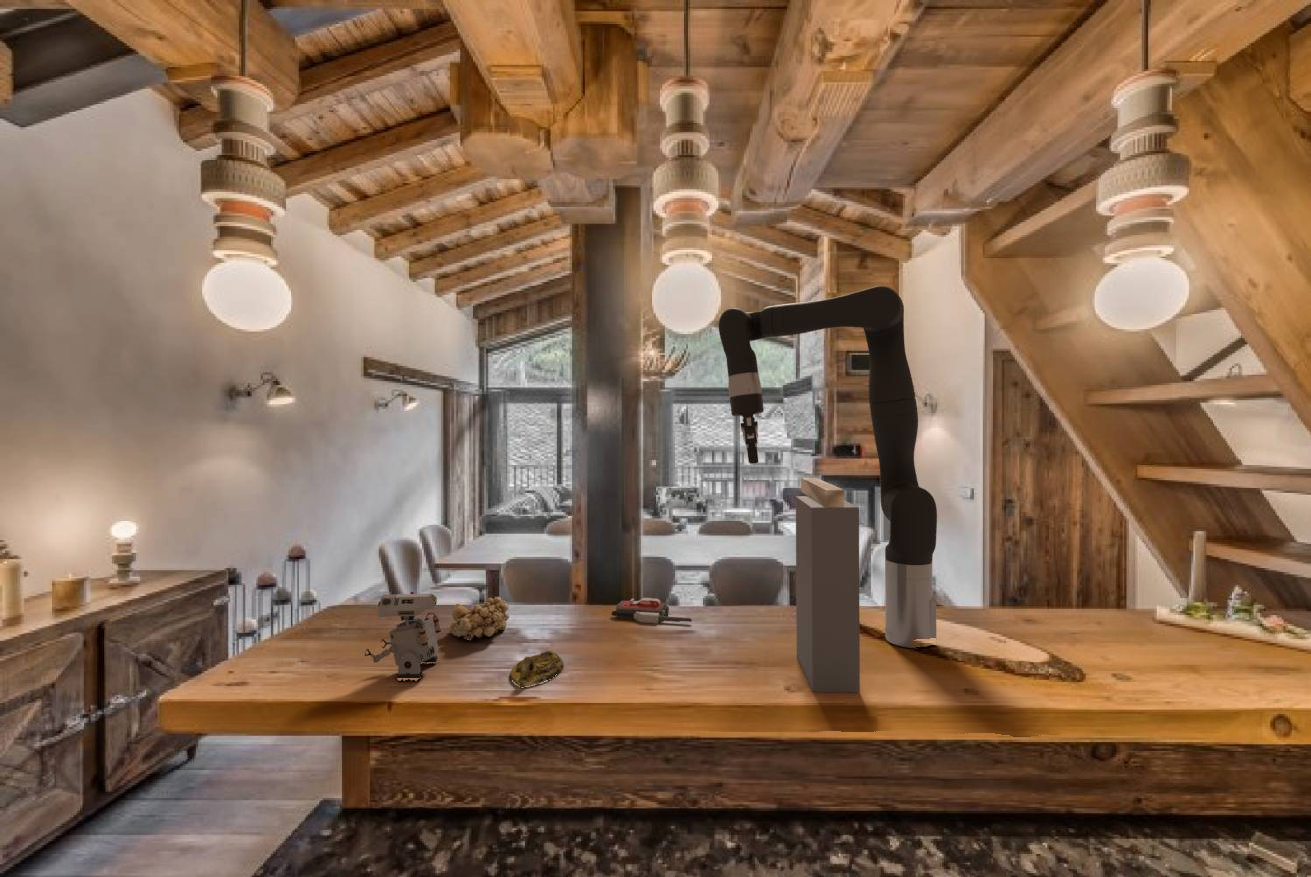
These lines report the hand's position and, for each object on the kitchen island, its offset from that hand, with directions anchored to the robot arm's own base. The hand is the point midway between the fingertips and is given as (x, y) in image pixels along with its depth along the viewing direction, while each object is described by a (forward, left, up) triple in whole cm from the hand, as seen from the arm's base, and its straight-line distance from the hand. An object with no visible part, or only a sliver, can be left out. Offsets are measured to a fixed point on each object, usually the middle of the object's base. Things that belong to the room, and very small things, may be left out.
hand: (753, 463), depth 137 cm
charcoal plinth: (-10, +28, -37) cm, 48 cm away
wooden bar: (-10, +24, -5) cm, 26 cm away
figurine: (+69, +31, -38) cm, 84 cm away
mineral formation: (+62, +12, -38) cm, 74 cm away
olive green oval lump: (+44, +29, -38) cm, 65 cm away
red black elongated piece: (+24, -3, -38) cm, 45 cm away
